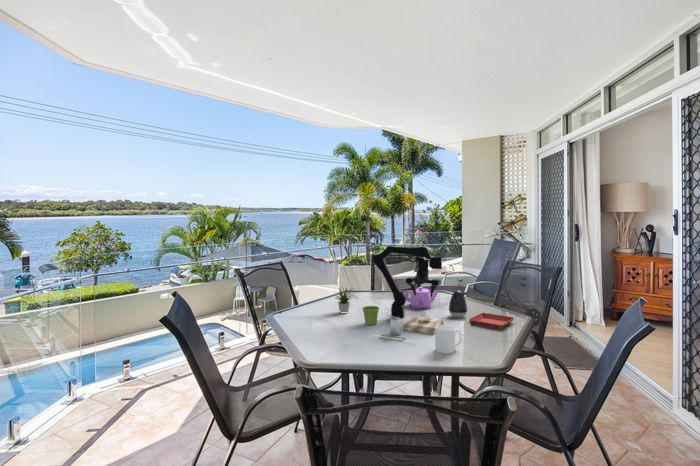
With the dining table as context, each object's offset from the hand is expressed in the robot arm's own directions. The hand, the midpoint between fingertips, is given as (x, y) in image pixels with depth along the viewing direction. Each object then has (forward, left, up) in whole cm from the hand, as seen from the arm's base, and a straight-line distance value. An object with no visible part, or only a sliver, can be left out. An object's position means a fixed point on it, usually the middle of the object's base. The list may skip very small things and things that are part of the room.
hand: (423, 296), depth 210 cm
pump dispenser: (+16, +14, -13) cm, 25 cm away
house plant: (-47, -5, -13) cm, 49 cm away
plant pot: (-23, -20, -13) cm, 33 cm away
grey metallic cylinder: (-3, -34, -12) cm, 36 cm away
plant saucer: (+35, +8, -14) cm, 38 cm away
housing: (+6, -18, -13) cm, 23 cm away
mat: (-3, -34, -13) cm, 37 cm away
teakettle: (-11, +30, -13) cm, 35 cm away
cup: (+25, -42, -13) cm, 51 cm away
